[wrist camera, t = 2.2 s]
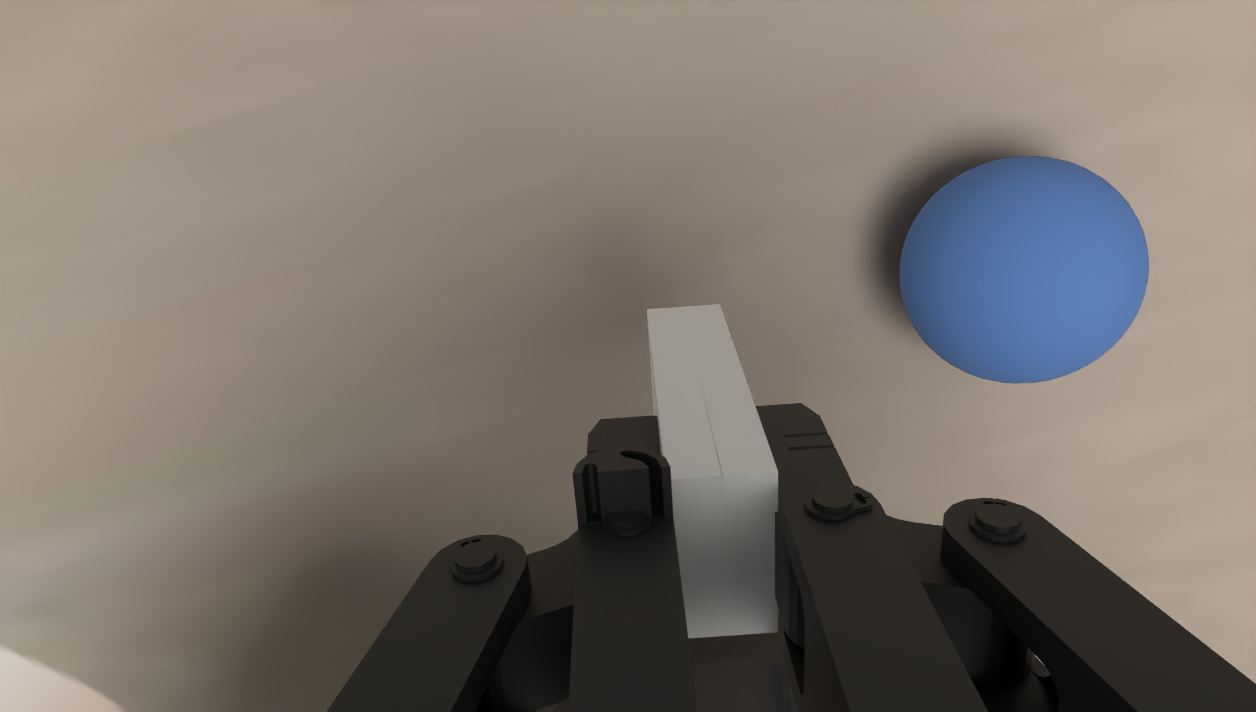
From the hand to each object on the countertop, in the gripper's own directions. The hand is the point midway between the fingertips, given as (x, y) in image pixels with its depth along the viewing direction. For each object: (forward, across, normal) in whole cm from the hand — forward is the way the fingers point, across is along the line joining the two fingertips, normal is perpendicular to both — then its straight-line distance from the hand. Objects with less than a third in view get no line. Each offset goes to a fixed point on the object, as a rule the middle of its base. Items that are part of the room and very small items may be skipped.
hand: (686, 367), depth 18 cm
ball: (+5, -9, 0) cm, 11 cm away
